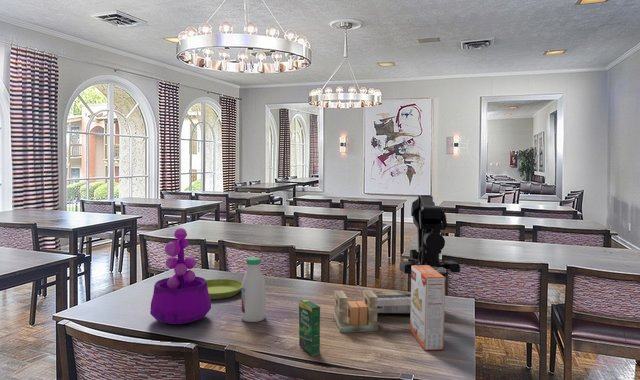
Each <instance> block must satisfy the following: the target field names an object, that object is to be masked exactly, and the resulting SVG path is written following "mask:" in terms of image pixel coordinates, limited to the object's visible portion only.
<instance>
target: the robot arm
mask: <svg viewBox="0 0 640 380" xmlns="http://www.w3.org/2000/svg"><path fill="white" fill-rule="evenodd" d="M410 216H411V217H412V222H413V224H414V225H415V227H416V228H417V229H416V230H417V249H410V250H409V259H410V260H409V261H407V260H405V261H401V262H399V271H401V272H403V274H406V275H409V274H410V275H411V266H413V265H429V266H430V267H432V268H433V269H434V270H436V271H437V272H439V273H440V274H441V275H443V276H444V277H445V278H446V277H447V276H448V275H449V273H447V270H449V271H450V272H451V273H453V274H454V273H461V270H462V269H461V264H460V263H458V262H457V261H454V260H453V259H452V260H442V262H440V254H442V250H443V249H444V247H445V246H446V245H445V244H446V239H445V238H444V236H443V235H442V233H441V231H446V230H447V229H446V228H447V226H448V223H447V214H446V213H445V211H444V210H443V208H442V207H441V206H440V205H439V206H438V205H436V202H434V199H433V195H432V196H431V194H430V195H429V194H428V195H427V194H424V195H423V194H421V195H418V196H417V199H415V200H414V201H412V204H411V206H410ZM412 260H414V261H412Z"/></svg>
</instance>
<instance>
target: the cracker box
mask: <svg viewBox="0 0 640 380" xmlns="http://www.w3.org/2000/svg"><path fill="white" fill-rule="evenodd" d="M410 283H411V284H410V292H411V313H410V320H409V321H410V323H409V325H410V326H409V327H410V328H409V330H410V332H411V334H412V336H413V337H414V338H415V340H416V341H417V342H418V344H419V345H420V347H421V348H422V349H423V351H442V350H444V345H445V343H444V340H445V339H444V337H445V304H446V303H445V302H446V276H445V277H444V276H443V275H441V274H440V273H439V272H437V271H436V270H434V269H433V268H432V267H430V266H429V265H413V266H411V274H410Z"/></svg>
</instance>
